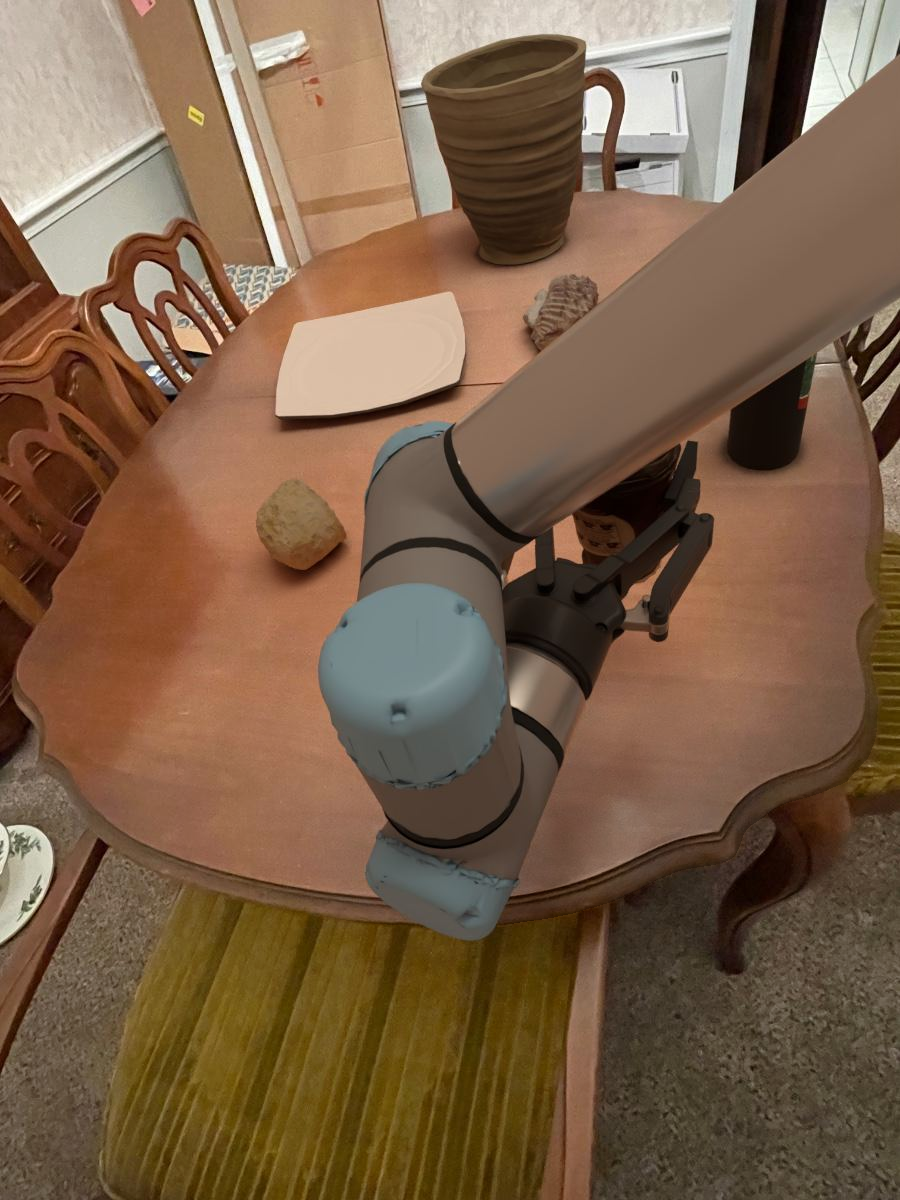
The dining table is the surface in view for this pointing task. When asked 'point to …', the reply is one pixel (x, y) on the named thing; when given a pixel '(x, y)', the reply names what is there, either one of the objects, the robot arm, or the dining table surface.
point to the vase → (512, 139)
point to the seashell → (560, 307)
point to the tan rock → (298, 525)
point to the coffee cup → (625, 511)
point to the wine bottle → (771, 421)
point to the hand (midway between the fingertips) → (636, 448)
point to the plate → (371, 359)
